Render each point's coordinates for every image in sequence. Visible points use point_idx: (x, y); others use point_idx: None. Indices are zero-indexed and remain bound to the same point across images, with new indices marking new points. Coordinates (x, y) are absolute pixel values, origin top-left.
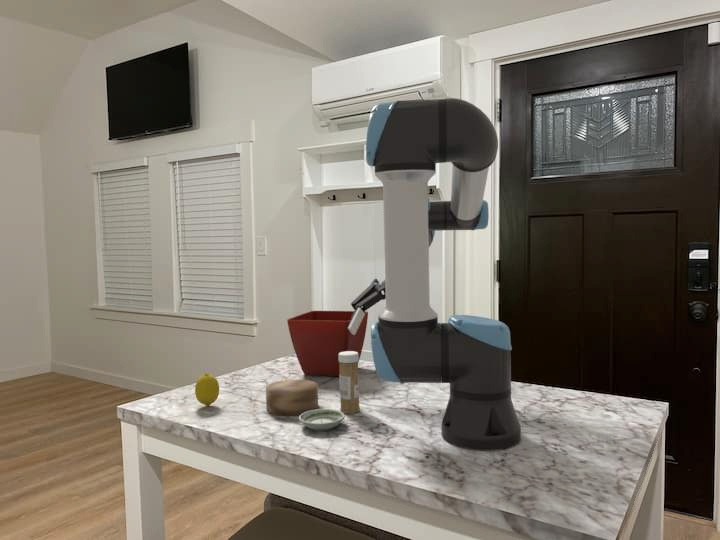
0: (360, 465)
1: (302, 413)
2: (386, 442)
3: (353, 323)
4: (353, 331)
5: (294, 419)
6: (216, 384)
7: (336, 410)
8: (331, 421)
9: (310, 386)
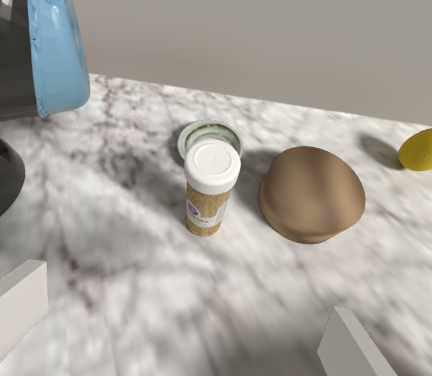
0: (118, 85)
1: (241, 143)
2: (105, 133)
3: (354, 348)
4: (325, 339)
5: (259, 161)
6: (419, 145)
7: None
8: None
9: (286, 195)
